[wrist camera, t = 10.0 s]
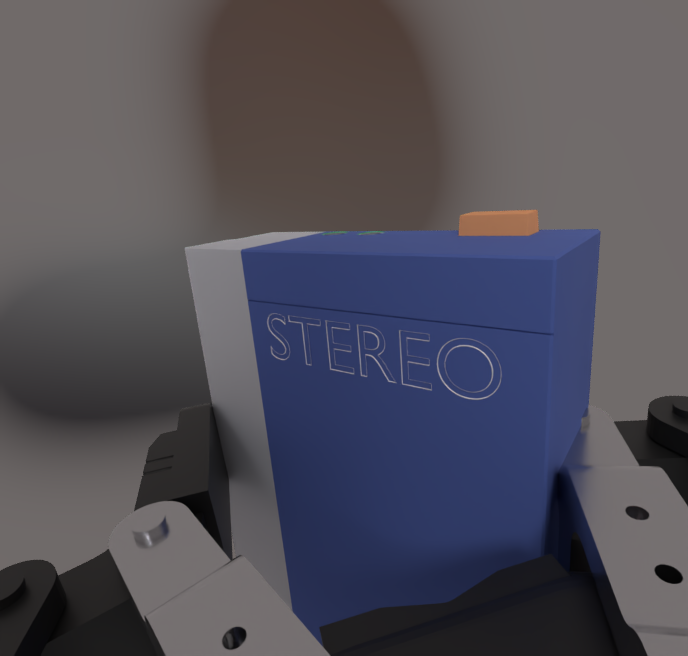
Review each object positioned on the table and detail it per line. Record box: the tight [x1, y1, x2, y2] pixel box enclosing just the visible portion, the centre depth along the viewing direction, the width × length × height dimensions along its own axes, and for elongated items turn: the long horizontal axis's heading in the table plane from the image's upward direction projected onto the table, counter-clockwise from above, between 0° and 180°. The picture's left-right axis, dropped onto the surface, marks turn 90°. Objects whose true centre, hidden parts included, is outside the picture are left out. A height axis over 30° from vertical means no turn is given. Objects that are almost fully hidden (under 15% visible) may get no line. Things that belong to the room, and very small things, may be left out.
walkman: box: [185, 210, 600, 646], centre depth 11 cm, size 8×3×12 cm, turn 54°
